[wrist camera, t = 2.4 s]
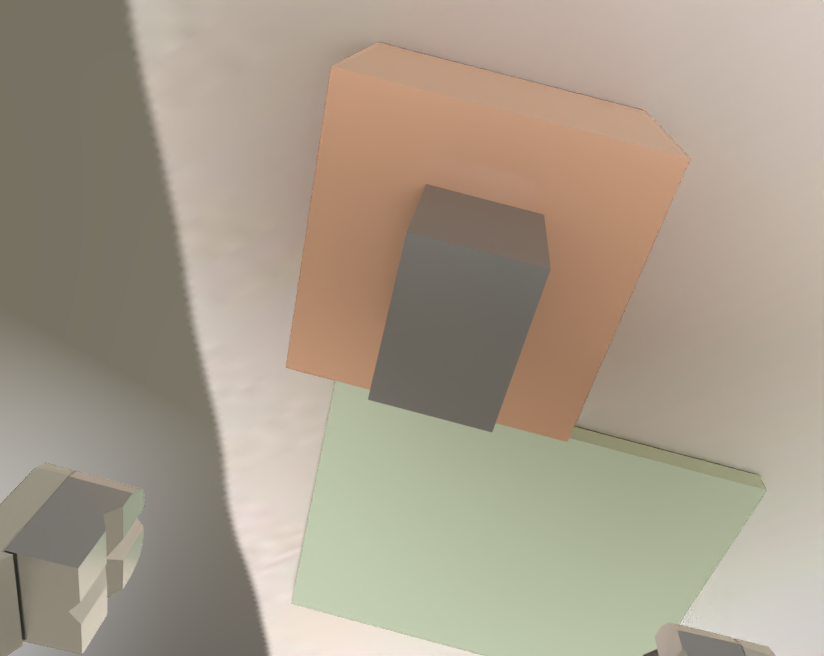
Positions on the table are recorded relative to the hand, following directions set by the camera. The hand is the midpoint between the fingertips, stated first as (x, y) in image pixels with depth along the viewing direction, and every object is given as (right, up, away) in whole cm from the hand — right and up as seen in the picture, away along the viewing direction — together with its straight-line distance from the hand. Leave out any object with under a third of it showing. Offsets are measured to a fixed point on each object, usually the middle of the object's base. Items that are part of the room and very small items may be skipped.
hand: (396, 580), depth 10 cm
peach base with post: (+3, +9, +16) cm, 19 cm away
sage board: (+5, -7, +24) cm, 26 cm away
